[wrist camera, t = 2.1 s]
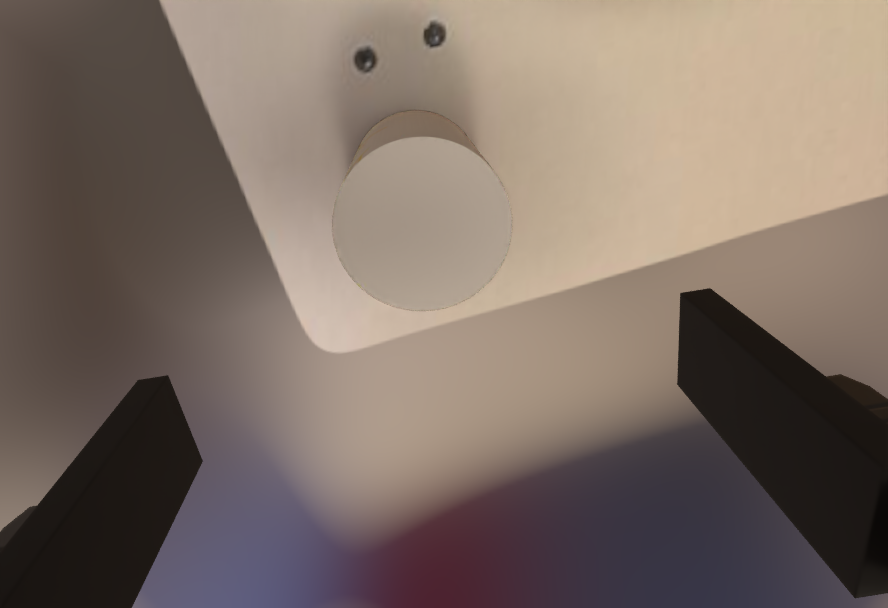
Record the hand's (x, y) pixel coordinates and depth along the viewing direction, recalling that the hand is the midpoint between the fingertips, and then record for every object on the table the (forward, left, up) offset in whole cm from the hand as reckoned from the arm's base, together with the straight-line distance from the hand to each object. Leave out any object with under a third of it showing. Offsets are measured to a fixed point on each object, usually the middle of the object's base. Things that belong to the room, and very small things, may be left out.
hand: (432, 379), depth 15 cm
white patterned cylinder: (0, 0, -24) cm, 24 cm away
